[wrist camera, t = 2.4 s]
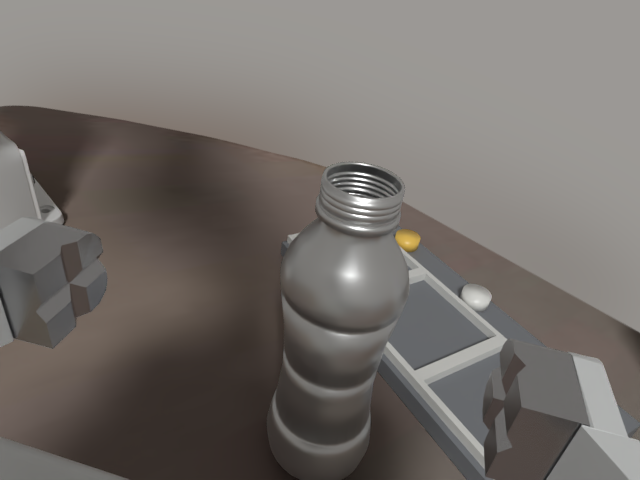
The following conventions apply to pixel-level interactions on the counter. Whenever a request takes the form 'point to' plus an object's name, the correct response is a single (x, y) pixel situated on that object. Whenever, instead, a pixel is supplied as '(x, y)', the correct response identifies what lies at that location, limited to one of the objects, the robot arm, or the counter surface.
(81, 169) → the counter surface
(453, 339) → the board
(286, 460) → the plastic bottle
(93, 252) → the robot arm
